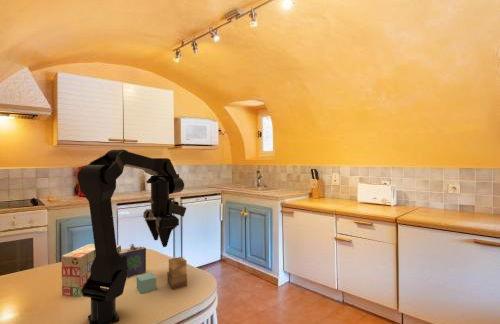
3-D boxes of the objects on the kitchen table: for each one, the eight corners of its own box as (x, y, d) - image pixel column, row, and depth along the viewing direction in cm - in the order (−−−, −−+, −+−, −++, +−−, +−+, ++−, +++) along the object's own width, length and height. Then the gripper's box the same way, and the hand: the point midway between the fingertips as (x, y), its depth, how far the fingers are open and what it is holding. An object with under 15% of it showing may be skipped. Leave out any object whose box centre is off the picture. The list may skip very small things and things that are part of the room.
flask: (120, 279, 100) (120, 248, 100) (117, 277, 102) (117, 246, 102) (147, 272, 106) (147, 242, 106) (143, 270, 109) (143, 241, 108)
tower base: (156, 290, 93) (156, 277, 93) (140, 294, 90) (140, 281, 90) (151, 284, 97) (151, 272, 97) (136, 288, 94) (136, 275, 94)
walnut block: (186, 286, 95) (186, 274, 95) (172, 290, 93) (172, 277, 93) (181, 281, 99) (181, 269, 99) (167, 284, 97) (167, 272, 97)
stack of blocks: (106, 269, 110) (106, 236, 110) (121, 270, 109) (121, 236, 109) (61, 296, 89) (61, 255, 88) (80, 297, 88) (80, 256, 87)
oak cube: (173, 277, 93) (173, 263, 93) (168, 272, 96) (168, 259, 96) (186, 274, 95) (186, 260, 95) (181, 269, 99) (181, 256, 99)
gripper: (194, 197, 94) (194, 246, 94) (173, 191, 110) (174, 233, 110) (159, 200, 88) (159, 252, 88) (142, 193, 103) (143, 238, 104)
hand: (160, 243), depth 98 cm, fingers open, 9 cm apart
